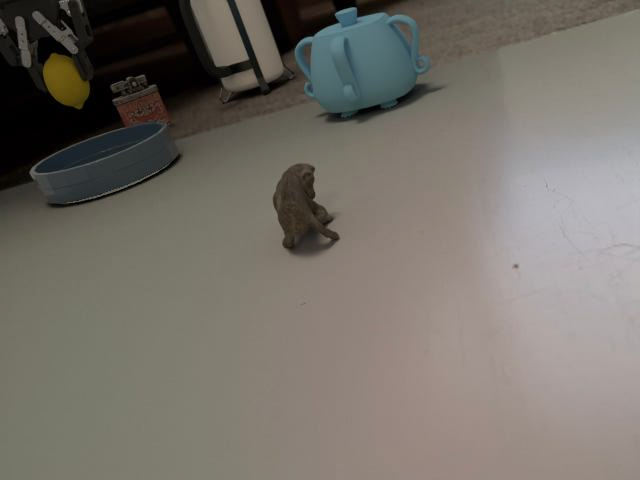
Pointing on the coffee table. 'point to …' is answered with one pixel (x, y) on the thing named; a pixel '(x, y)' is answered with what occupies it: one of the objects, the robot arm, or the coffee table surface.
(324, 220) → the brown furry figure
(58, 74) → the lemon
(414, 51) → the decorative pot
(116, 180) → the bowl
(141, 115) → the lighter
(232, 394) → the coffee table surface
